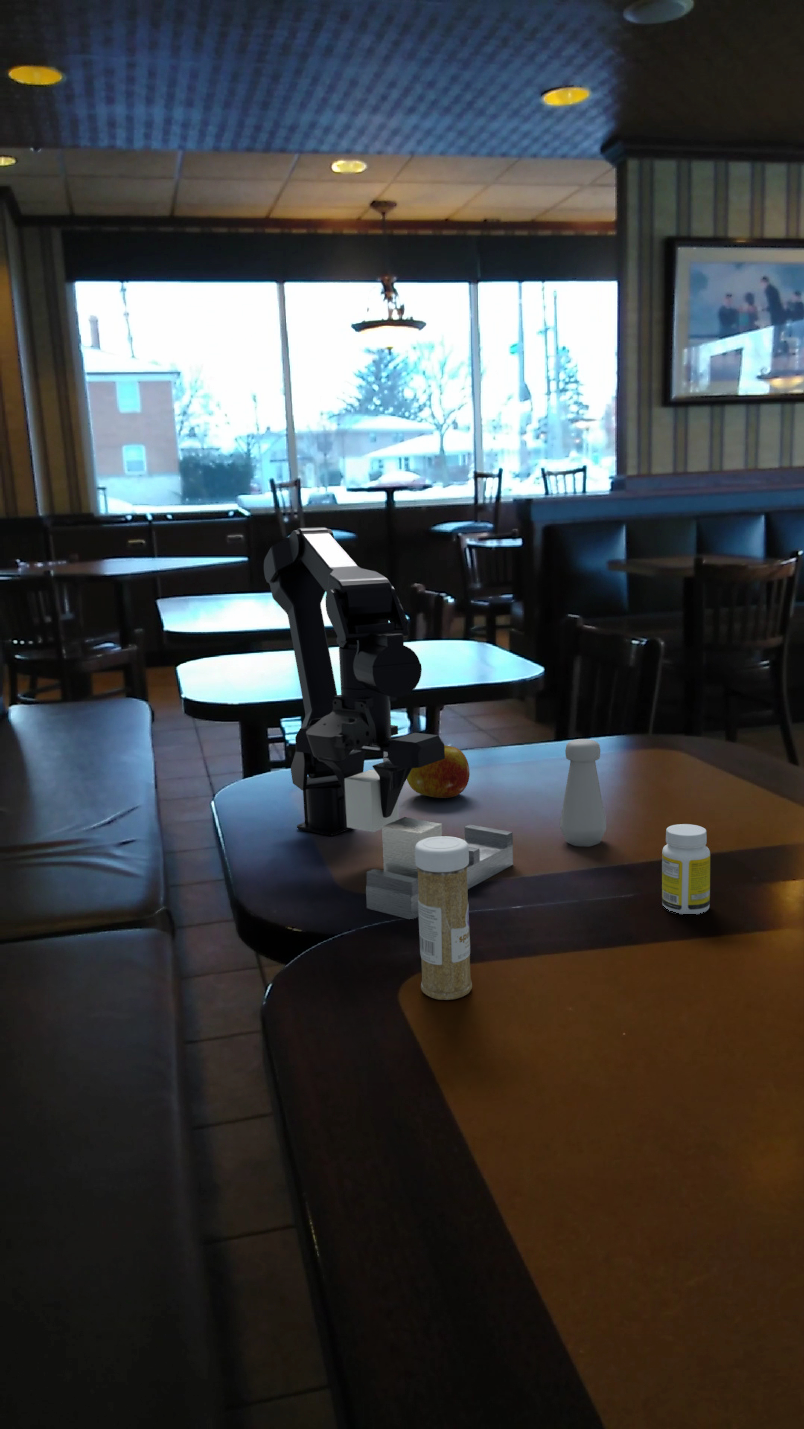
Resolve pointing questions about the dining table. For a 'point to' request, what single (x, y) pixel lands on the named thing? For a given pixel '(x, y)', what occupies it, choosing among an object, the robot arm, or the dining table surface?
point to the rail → (473, 878)
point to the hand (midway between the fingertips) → (370, 813)
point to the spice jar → (443, 916)
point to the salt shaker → (583, 796)
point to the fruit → (442, 775)
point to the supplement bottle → (686, 870)
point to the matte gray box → (365, 802)
